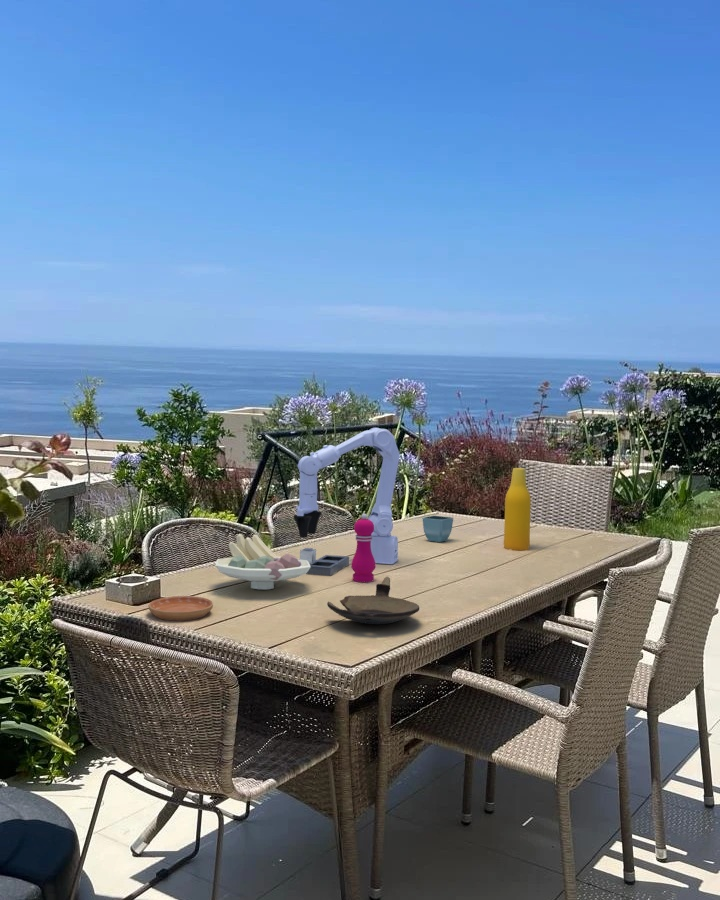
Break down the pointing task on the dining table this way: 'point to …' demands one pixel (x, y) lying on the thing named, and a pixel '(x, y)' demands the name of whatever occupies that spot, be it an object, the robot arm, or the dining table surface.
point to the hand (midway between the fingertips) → (307, 535)
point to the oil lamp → (376, 607)
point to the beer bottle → (517, 513)
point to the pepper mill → (363, 551)
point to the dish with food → (260, 564)
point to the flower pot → (437, 528)
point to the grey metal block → (308, 554)
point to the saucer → (180, 607)
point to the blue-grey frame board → (328, 565)
